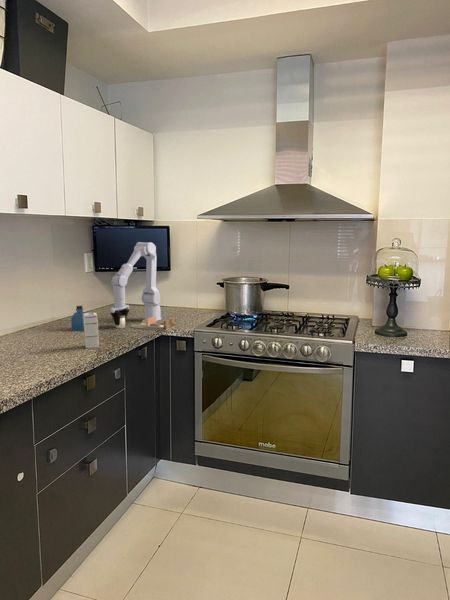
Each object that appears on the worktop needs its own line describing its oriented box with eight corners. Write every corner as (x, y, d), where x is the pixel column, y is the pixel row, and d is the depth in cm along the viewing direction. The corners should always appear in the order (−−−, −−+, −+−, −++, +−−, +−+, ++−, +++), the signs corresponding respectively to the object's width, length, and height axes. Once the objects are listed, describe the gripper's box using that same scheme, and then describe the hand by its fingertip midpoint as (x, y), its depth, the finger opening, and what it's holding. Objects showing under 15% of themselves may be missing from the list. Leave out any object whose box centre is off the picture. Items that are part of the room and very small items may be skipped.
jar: (119, 325, 241) (118, 314, 240) (127, 326, 239) (127, 315, 238) (113, 327, 236) (112, 316, 235) (121, 328, 234) (121, 317, 234)
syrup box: (99, 347, 196) (98, 314, 194) (85, 348, 194) (83, 315, 192) (98, 344, 202) (96, 312, 199) (84, 345, 199) (82, 312, 197)
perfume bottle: (82, 330, 229) (81, 307, 227) (71, 330, 230) (70, 306, 228) (88, 328, 235) (88, 305, 233) (78, 327, 236) (77, 305, 234)
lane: (143, 323, 248) (143, 314, 247) (176, 326, 241) (176, 317, 240) (131, 327, 237) (131, 318, 236) (165, 330, 230) (165, 321, 229)
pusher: (154, 323, 244) (154, 316, 243) (163, 324, 242) (163, 316, 241) (146, 327, 235) (145, 319, 234) (154, 327, 233) (154, 319, 233)
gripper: (120, 296, 244) (121, 321, 246) (104, 299, 230) (105, 326, 232) (132, 296, 241) (132, 322, 243) (116, 300, 228) (117, 327, 230)
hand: (120, 324), depth 238 cm, fingers closed on jar, 5 cm apart
